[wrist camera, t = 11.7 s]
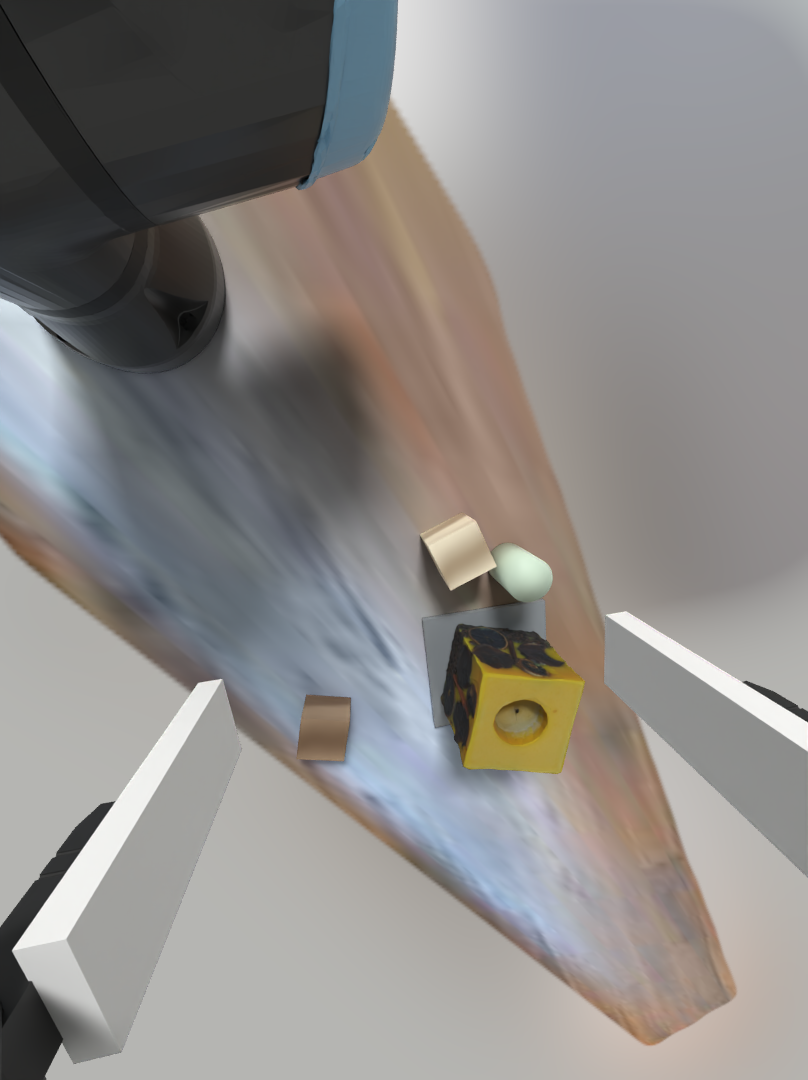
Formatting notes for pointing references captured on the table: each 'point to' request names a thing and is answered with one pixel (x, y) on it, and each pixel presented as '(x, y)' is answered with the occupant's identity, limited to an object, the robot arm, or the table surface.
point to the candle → (509, 700)
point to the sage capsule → (521, 572)
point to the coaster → (444, 626)
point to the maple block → (458, 550)
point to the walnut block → (324, 728)
